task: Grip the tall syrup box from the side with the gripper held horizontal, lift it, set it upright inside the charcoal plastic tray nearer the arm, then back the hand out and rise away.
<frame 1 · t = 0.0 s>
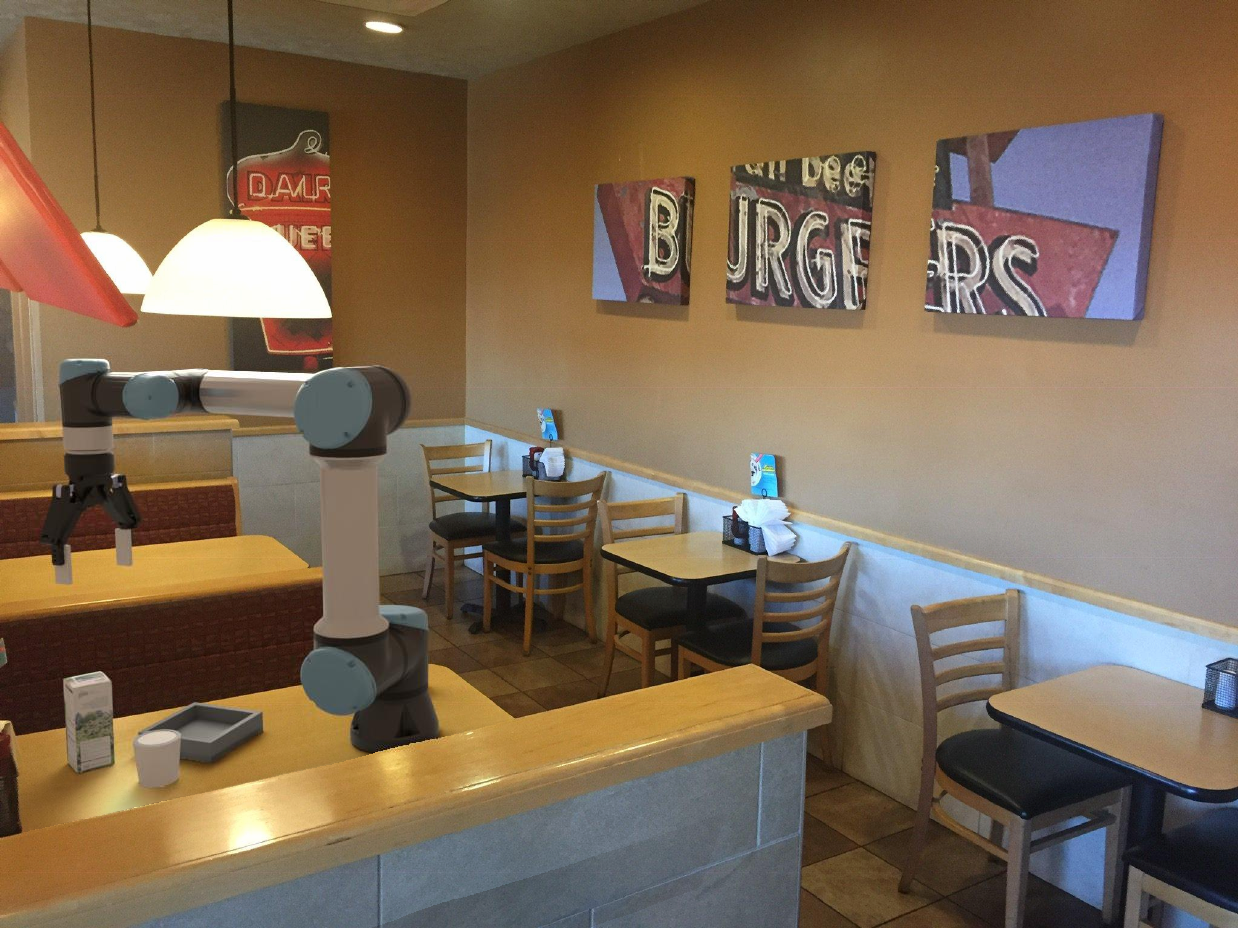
hand: (95, 574, 173), 28 cm above the table, tool pointing down, fingers open, 13 cm apart
tray: (202, 740, 173), on the table
condiment: (354, 698, 194), on the table
white cup: (159, 780, 158), on the table
syrup box: (91, 765, 163), on the table
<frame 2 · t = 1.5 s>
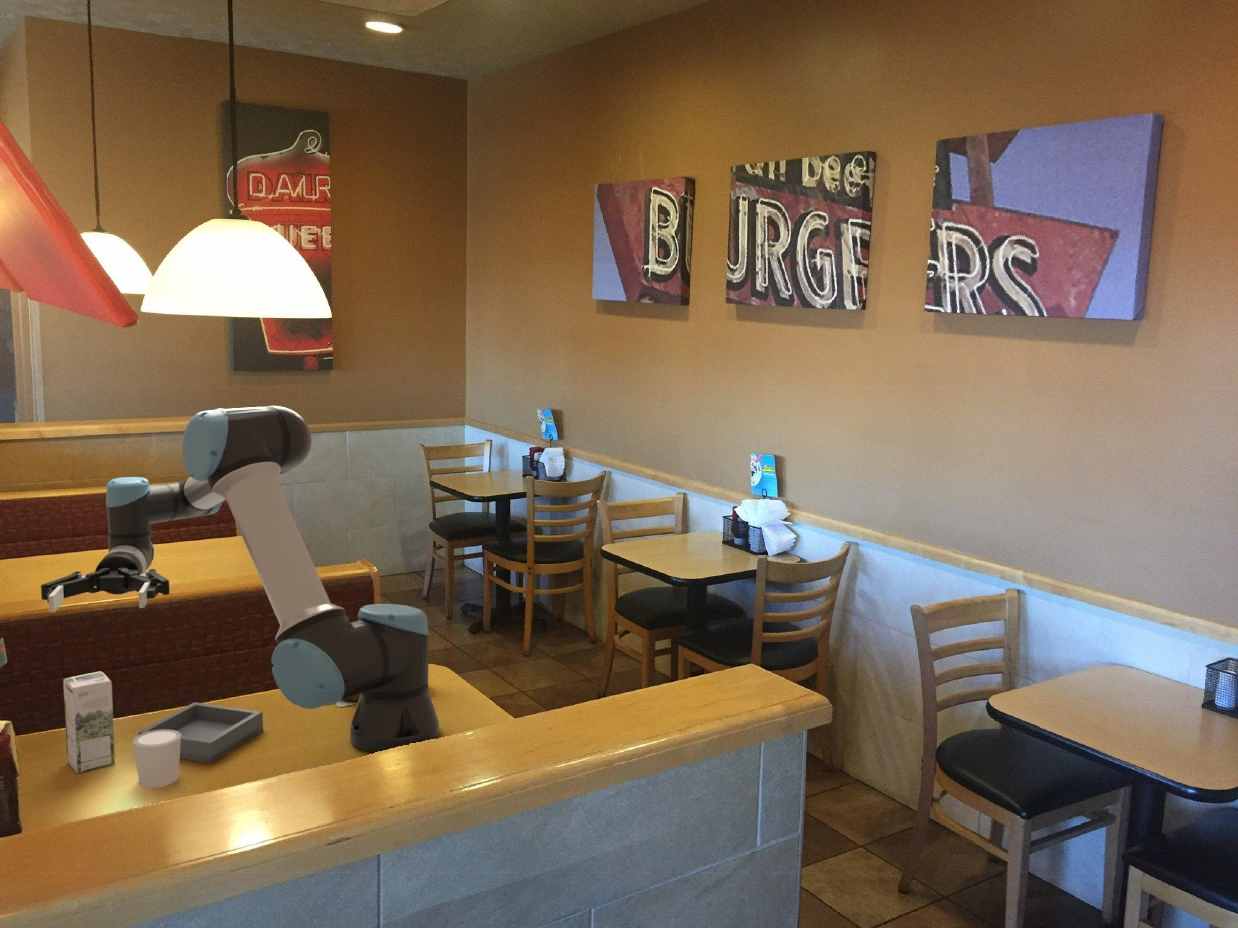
hand: (96, 602, 169), 24 cm above the table, tool horizontal, fingers open, 13 cm apart
nothing on the table moved.
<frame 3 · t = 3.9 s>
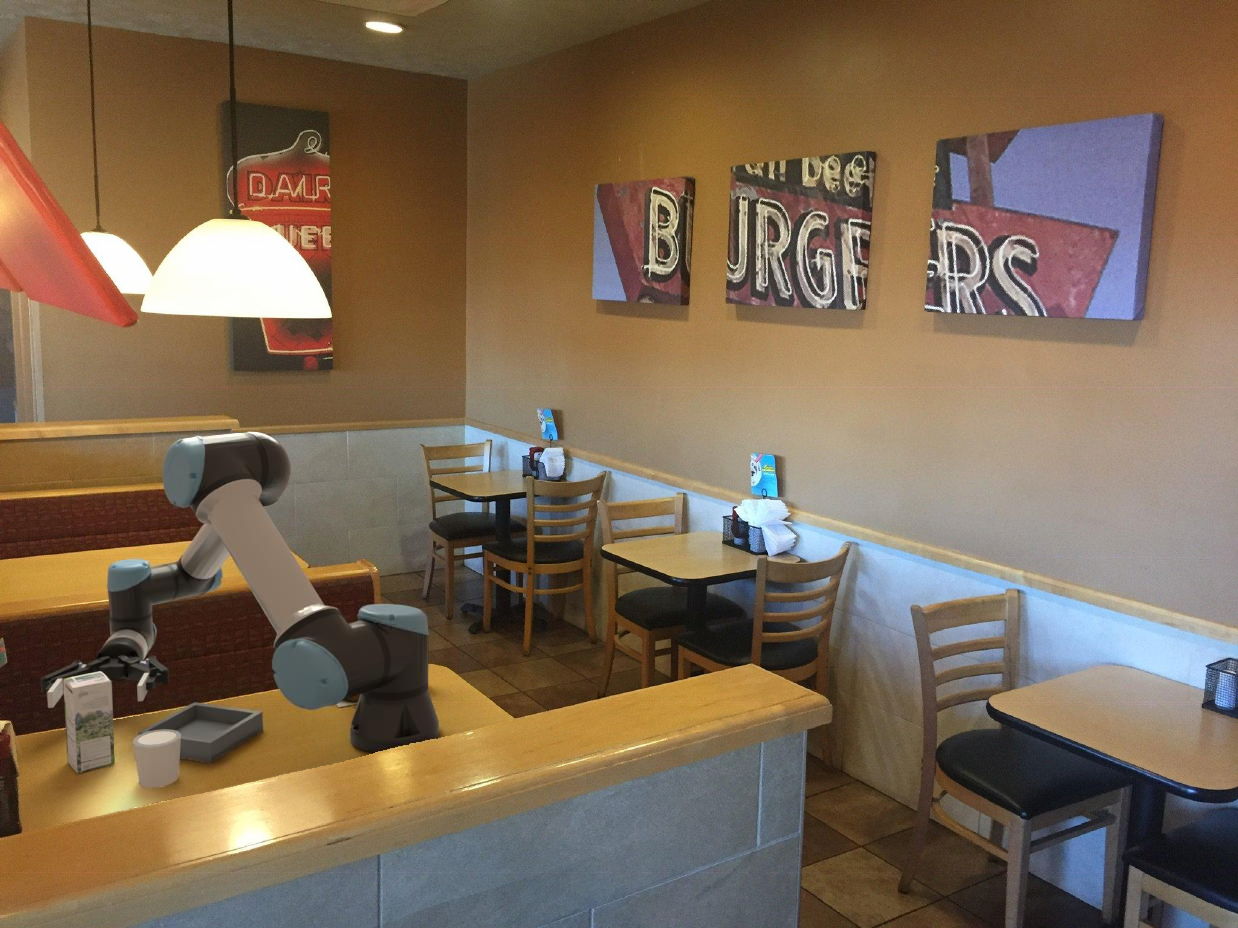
hand: (95, 696, 168), 9 cm above the table, tool horizontal, fingers open, 13 cm apart
nothing on the table moved.
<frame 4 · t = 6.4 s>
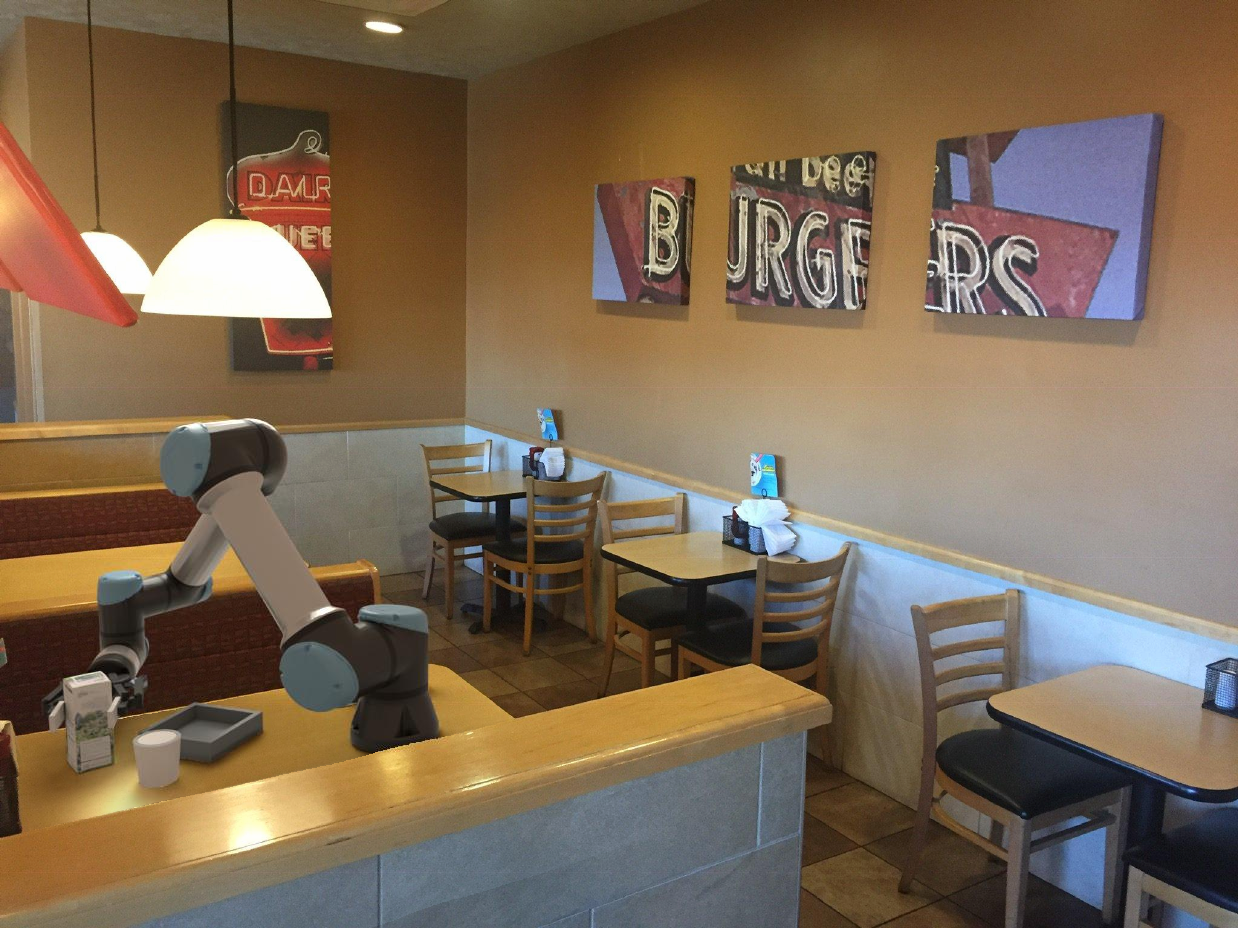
hand: (81, 721, 158), 9 cm above the table, tool horizontal, fingers closed on syrup box, 7 cm apart
syrup box: (91, 764, 163), on the table, touching gripper
everything else where it was.
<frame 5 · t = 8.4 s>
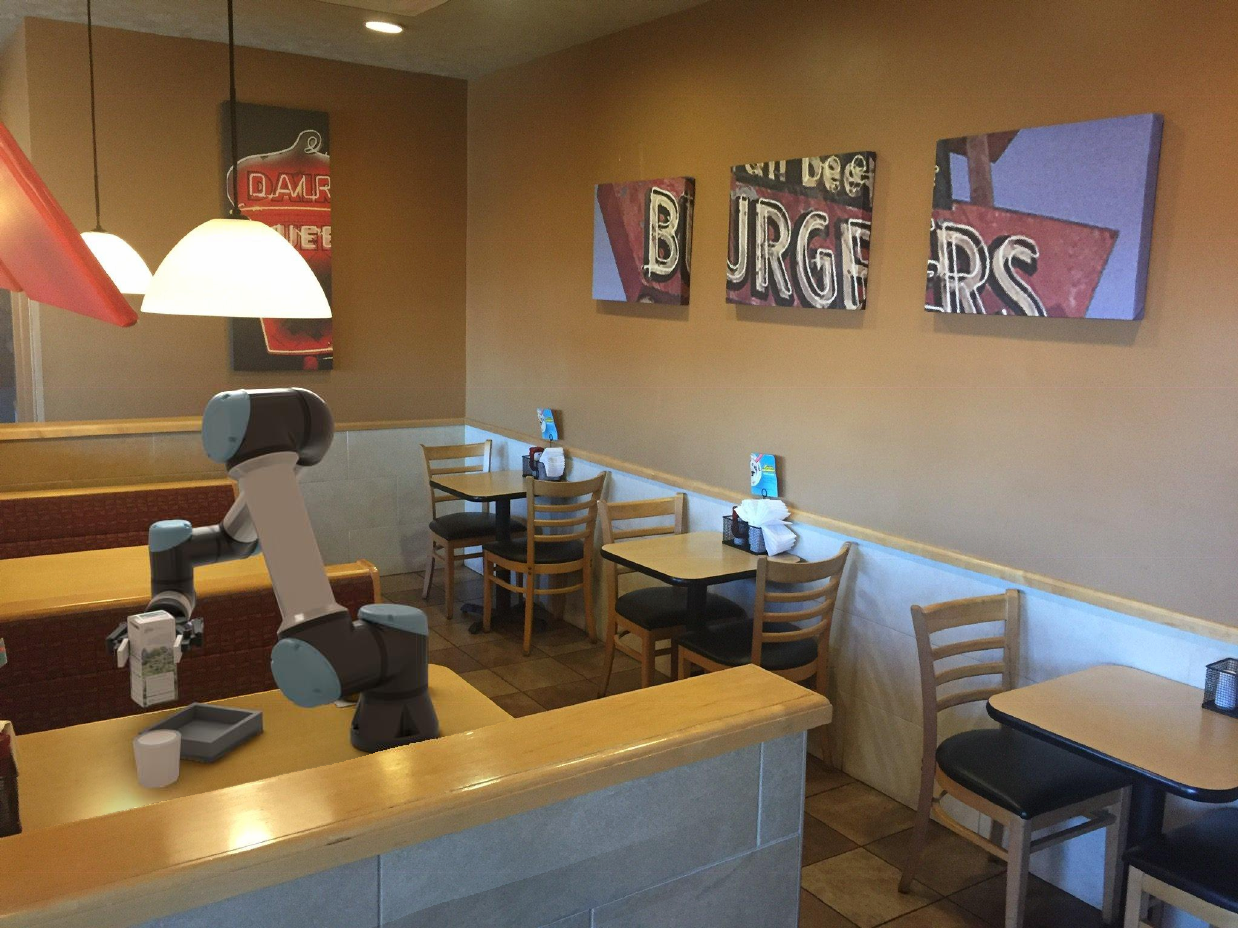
hand: (148, 656, 162), 18 cm above the table, tool horizontal, fingers closed on syrup box, 7 cm apart
syrup box: (155, 700, 168), point 9 cm above the table, touching gripper
everything else where it was.
when the fingers open (11 cm above the table, at t = 10.5 s): syrup box drops 1 cm, resting on tray.
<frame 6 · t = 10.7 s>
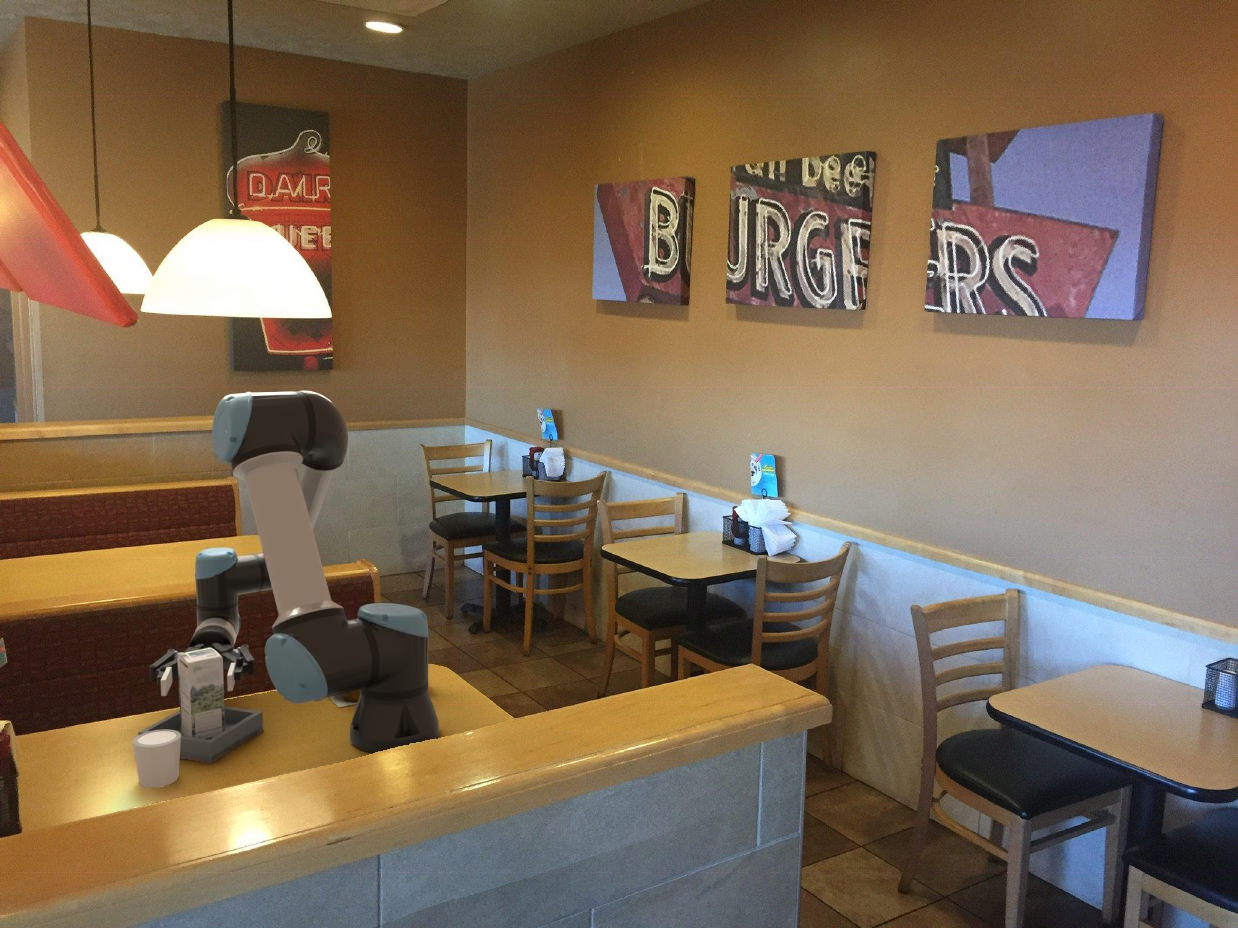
hand: (196, 685, 167), 12 cm above the table, tool horizontal, fingers open, 9 cm apart
syrup box: (203, 735, 173), point 1 cm above the table, touching tray
everything else where it was.
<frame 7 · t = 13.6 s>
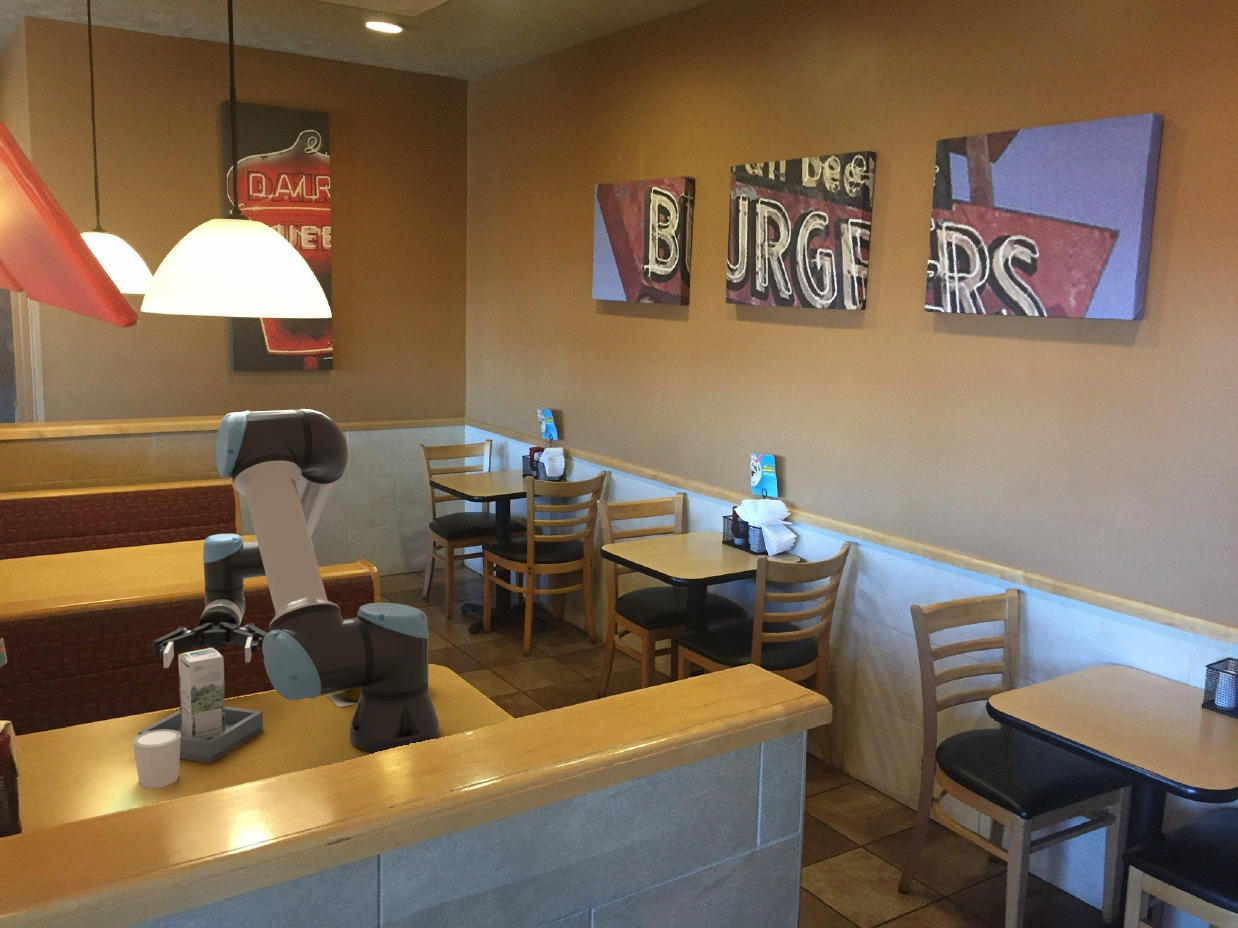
hand: (206, 657, 181), 12 cm above the table, tool horizontal, fingers open, 13 cm apart
nothing on the table moved.
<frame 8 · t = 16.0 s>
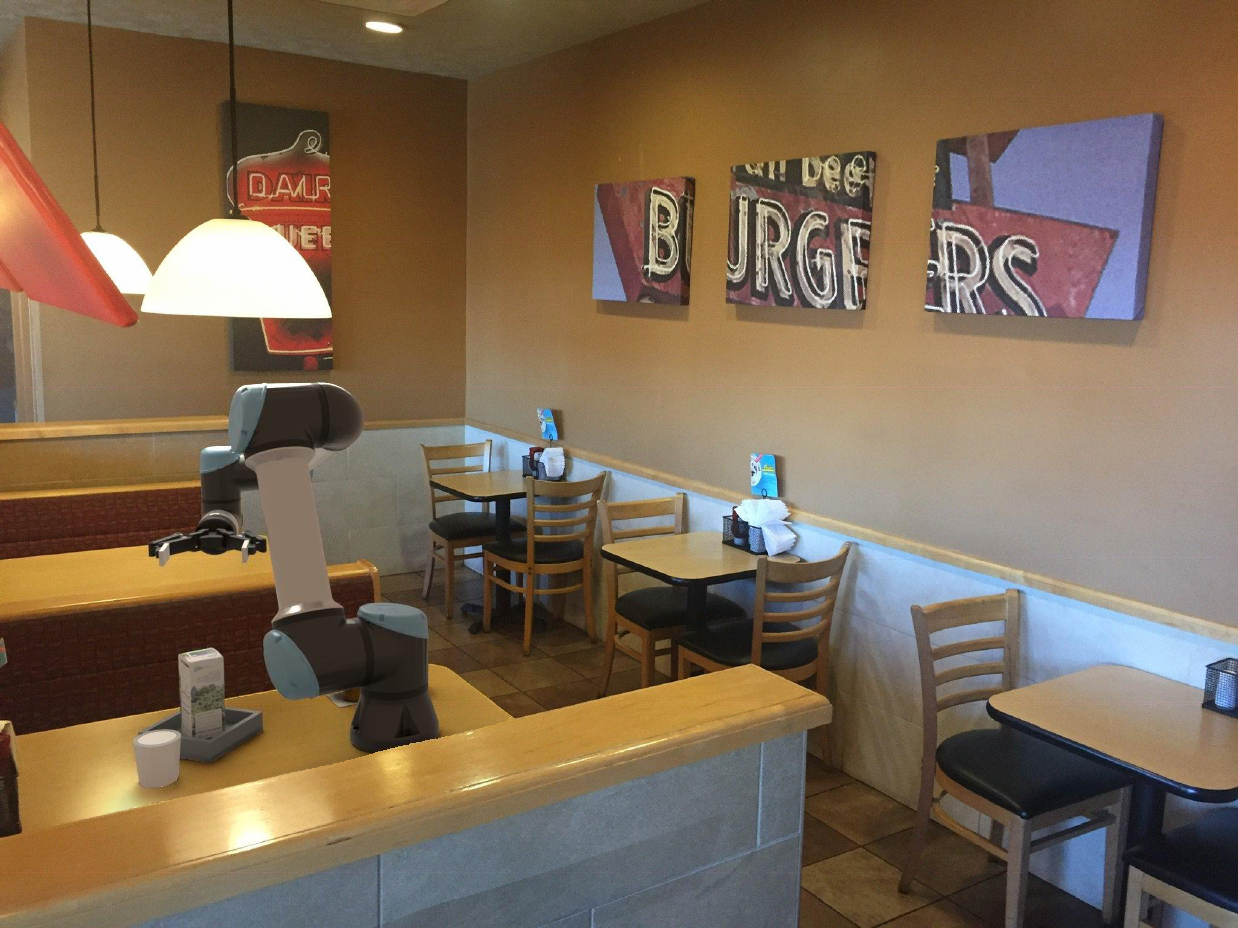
hand: (203, 557, 178), 30 cm above the table, tool horizontal, fingers open, 13 cm apart
nothing on the table moved.
at the end: syrup box inside the target area on the tray (0.2 cm from its centre), point 0.8 cm above the tray's base; syrup box tilted 0°; the gripper is holding nothing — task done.
